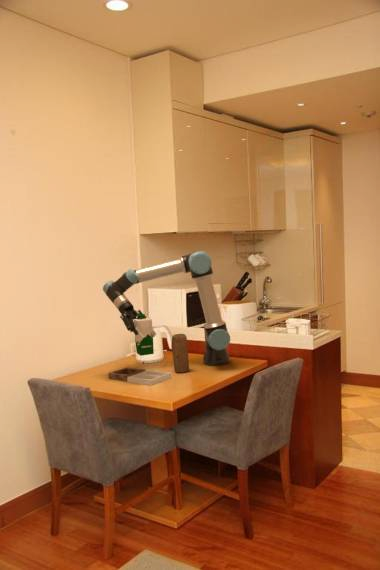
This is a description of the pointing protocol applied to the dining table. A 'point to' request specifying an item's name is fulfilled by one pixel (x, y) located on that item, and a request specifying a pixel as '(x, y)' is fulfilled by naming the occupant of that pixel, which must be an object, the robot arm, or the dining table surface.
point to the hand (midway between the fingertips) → (148, 337)
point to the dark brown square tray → (121, 373)
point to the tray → (149, 377)
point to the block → (180, 353)
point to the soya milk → (146, 330)
